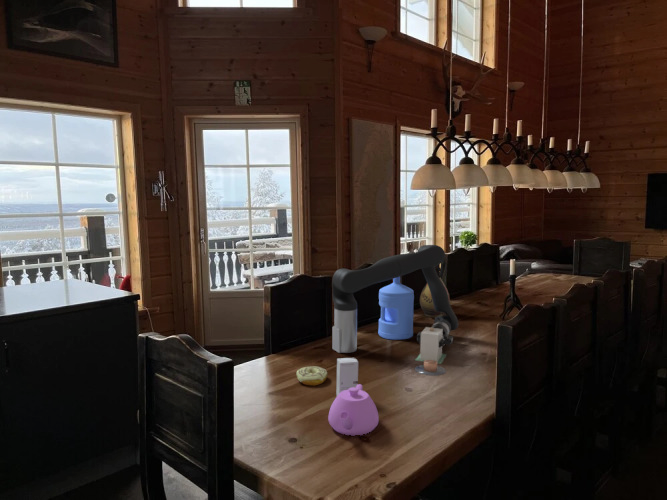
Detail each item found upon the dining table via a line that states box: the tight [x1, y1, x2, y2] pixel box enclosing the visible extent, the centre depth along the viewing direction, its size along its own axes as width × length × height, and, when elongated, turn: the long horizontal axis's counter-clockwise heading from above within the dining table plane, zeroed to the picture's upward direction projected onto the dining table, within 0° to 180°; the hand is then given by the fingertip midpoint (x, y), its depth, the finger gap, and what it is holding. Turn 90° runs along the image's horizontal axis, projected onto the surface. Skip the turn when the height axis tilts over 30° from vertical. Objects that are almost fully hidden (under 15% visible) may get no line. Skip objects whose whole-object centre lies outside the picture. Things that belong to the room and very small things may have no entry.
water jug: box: [377, 276, 415, 341], centre depth 219 cm, size 16×16×28 cm
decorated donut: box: [296, 365, 328, 387], centre depth 167 cm, size 10×11×4 cm
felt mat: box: [414, 353, 447, 365], centre depth 190 cm, size 12×10×1 cm
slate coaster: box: [414, 364, 447, 377], centre depth 176 cm, size 11×11×1 cm
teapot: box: [327, 383, 380, 437], centre depth 133 cm, size 14×20×11 cm
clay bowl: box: [423, 360, 438, 372], centre depth 176 cm, size 5×5×3 cm
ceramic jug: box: [419, 259, 451, 318], centre depth 257 cm, size 17×15×30 cm
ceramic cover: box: [419, 326, 443, 362], centre depth 189 cm, size 9×7×12 cm
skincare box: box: [335, 357, 359, 397], centre depth 152 cm, size 6×4×12 cm
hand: (430, 343), depth 187 cm, fingers closed on ceramic cover, 6 cm apart
